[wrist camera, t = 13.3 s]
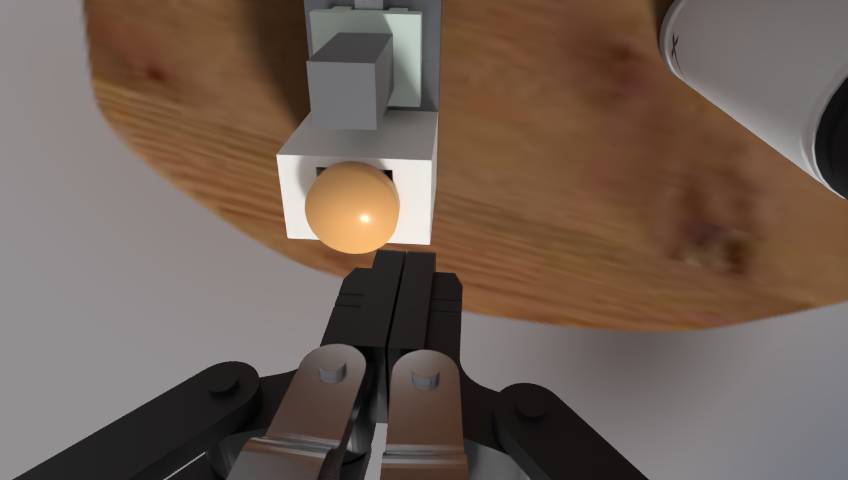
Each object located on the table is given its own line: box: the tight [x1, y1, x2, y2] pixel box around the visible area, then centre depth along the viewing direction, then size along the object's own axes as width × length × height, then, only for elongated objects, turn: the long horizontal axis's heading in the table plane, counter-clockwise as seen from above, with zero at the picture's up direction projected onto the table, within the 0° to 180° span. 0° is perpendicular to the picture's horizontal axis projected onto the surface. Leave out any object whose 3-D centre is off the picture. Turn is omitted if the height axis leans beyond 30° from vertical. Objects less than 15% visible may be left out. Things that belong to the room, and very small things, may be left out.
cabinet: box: [277, 110, 438, 245], centre depth 32 cm, size 5×8×8 cm, turn 89°
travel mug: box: [659, 0, 848, 200], centre depth 23 cm, size 6×7×20 cm
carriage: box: [306, 6, 422, 130], centre depth 28 cm, size 5×6×9 cm
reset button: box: [305, 161, 400, 254], centre depth 30 cm, size 5×5×7 cm
